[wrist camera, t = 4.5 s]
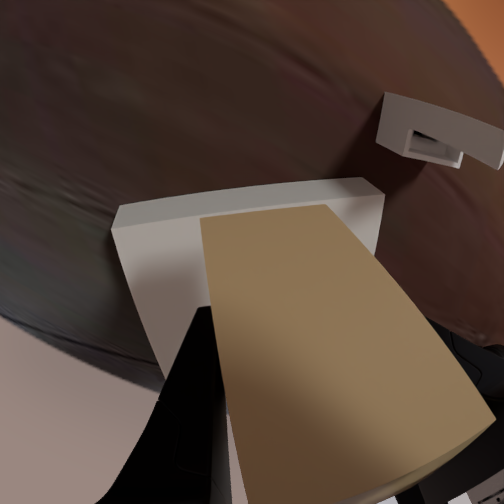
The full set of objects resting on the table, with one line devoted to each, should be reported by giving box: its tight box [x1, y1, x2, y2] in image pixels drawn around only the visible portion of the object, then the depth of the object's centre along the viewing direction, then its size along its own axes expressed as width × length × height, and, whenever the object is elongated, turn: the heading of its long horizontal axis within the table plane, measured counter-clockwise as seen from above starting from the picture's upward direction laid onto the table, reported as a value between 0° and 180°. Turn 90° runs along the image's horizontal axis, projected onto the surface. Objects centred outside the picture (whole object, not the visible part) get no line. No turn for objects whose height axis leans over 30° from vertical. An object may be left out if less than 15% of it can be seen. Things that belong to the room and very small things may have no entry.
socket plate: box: [111, 177, 385, 379], centre depth 22 cm, size 16×16×3 cm
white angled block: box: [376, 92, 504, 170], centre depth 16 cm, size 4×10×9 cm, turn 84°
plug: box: [199, 204, 496, 504], centre depth 7 cm, size 4×4×8 cm
